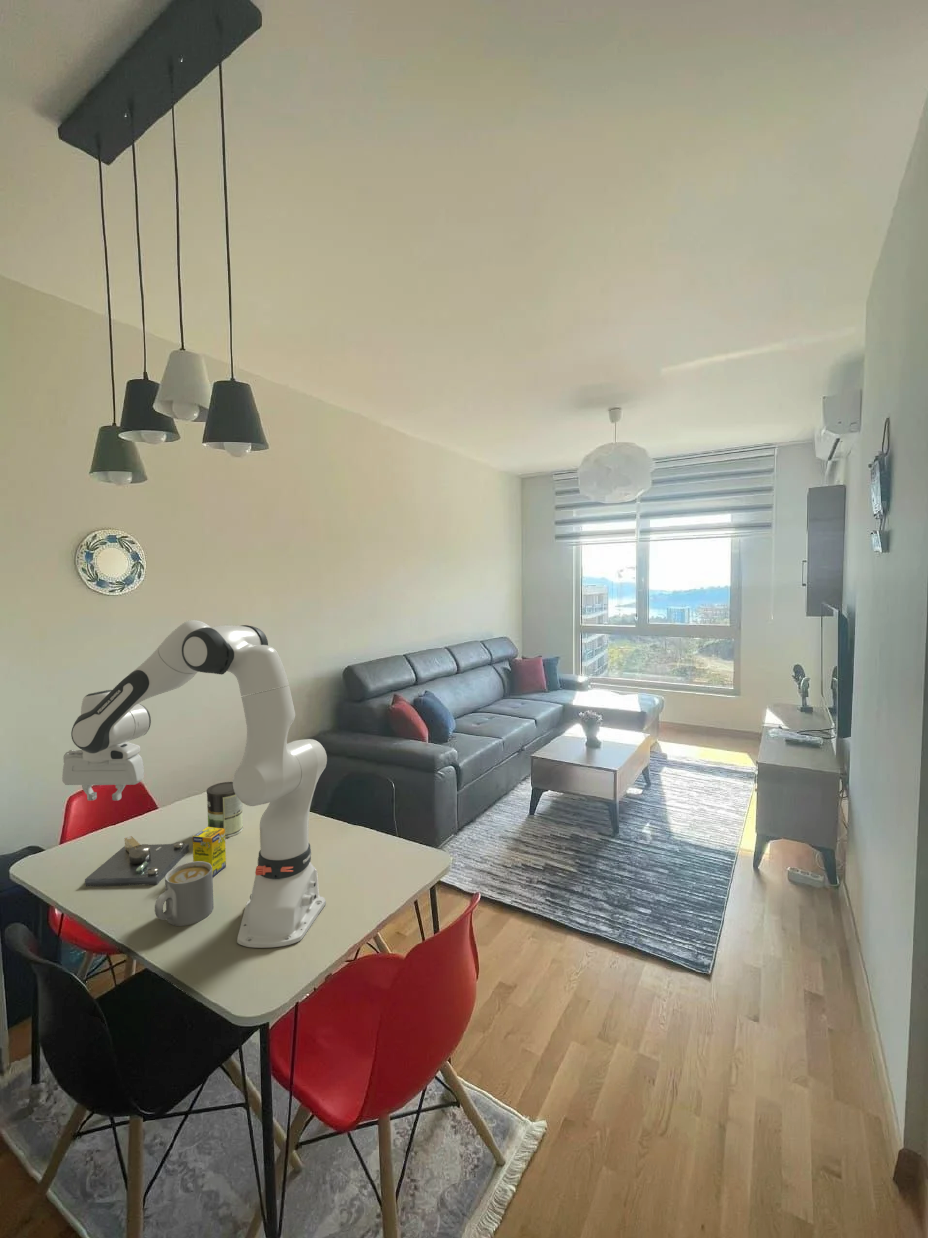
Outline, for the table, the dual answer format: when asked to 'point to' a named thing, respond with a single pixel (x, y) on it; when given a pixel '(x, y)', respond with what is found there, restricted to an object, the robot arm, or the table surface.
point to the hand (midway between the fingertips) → (104, 799)
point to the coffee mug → (187, 894)
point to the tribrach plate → (138, 867)
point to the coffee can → (224, 809)
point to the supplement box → (210, 848)
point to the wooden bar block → (137, 851)
